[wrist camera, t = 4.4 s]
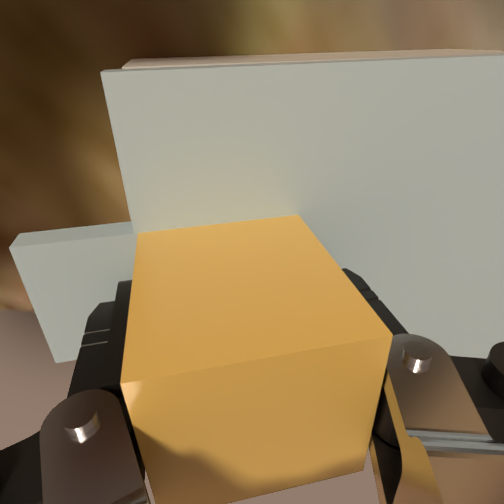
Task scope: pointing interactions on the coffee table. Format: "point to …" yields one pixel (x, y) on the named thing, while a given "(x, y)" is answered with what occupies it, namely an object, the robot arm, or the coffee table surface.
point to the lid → (282, 256)
